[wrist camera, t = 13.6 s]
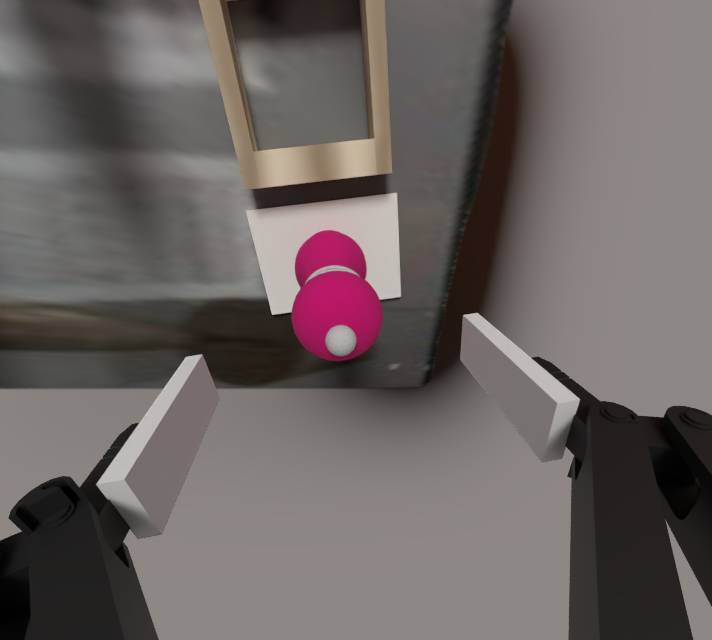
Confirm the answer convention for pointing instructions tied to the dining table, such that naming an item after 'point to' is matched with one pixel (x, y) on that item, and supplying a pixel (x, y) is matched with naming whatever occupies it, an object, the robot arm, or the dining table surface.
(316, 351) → the pepper mill
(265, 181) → the maple frame
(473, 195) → the dining table surface
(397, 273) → the plastic pad
